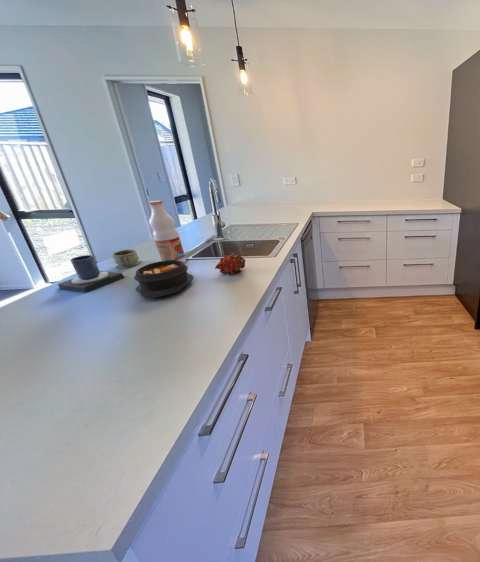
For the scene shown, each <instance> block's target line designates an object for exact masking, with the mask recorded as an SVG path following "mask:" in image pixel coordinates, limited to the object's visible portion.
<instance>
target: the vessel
mask: <svg viewBox="0 0 480 562" xmlns="http://www.w3.org/2000/svg"><path fill="white" fill-rule="evenodd" d="M111 256H112V258H113V261H114V263H115V264H116V265H118V267H117V268H121V269H122V268H123V269H125V268H131V267H134V266H137V265H138V264H140V262H139V260H140V257H139V256H138V253H137V250H136V249H133V248H132V249H131V248H128V249H121V250H118V251H117V250H116V251H114V252H113V253H112V254H111Z"/></svg>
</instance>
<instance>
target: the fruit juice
mask: <svg viewBox="0 0 480 562" xmlns="http://www.w3.org/2000/svg"><path fill="white" fill-rule="evenodd" d="M148 206H149V207H150V209H151V213H150V217H149V219H148V224H149V226H150V228H151V229H152V237H153V240H154V242H155V243H154V244H155V246H156V249H157V253H158V255H159V258H160V261H168V260H179V261H182V262H183V263H184V264H185V263H186V261H187V257H186V255H185V252H184V248H183V245H182V241H181V238H180V234H179V232H178V230H177V228H176V227H175V220H174V218H173V217H172V216H171V215H170V214H168V212H167V211H166V209H165V208H164V202H163V200H150V201H148Z"/></svg>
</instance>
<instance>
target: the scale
mask: <svg viewBox="0 0 480 562" xmlns="http://www.w3.org/2000/svg"><path fill="white" fill-rule="evenodd" d="M99 271H100V274H99V276H98V277H95V278H92V279H87V280H82V279H79V278H78V276H76V277H74V278H70V279H68V280H65V281H63V282H59V283H57V285H58V288H59V289H60V290H66V291H73V292H80V293H88V292H91V291H93V290H96V289H99V288H101V287H103V286H106V285H109V284H112V283H114V282H116V281H120V280H121V279H124V275H123V273H122V272H116V271H115V272H114V271H106V270H99Z"/></svg>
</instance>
